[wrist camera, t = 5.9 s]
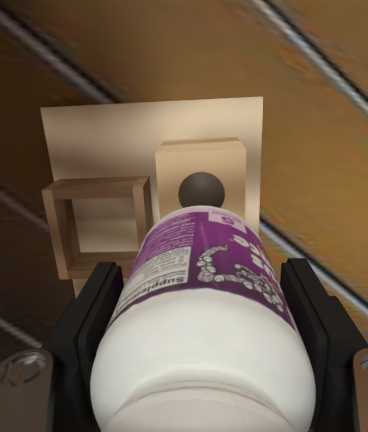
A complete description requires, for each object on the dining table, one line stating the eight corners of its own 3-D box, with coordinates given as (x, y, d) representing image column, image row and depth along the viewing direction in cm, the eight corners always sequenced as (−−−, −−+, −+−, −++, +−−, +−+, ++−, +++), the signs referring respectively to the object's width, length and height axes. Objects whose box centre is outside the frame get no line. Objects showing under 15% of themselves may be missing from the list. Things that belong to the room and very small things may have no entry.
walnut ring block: (59, 179, 30) (41, 190, 26) (149, 175, 29) (142, 186, 26) (73, 260, 32) (59, 279, 29) (156, 258, 32) (151, 277, 29)
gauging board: (44, 107, 28) (27, 109, 25) (261, 96, 27) (268, 97, 24) (86, 338, 37) (77, 359, 34) (253, 337, 36) (258, 358, 33)
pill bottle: (291, 266, 14) (448, 572, 5) (197, 332, 16) (191, 662, 7) (207, 172, 13) (219, 358, 4) (113, 254, 14) (-34, 526, 5)
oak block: (164, 139, 28) (154, 153, 22) (237, 136, 28) (246, 149, 22) (168, 208, 30) (161, 235, 24) (236, 206, 30) (244, 233, 24)
